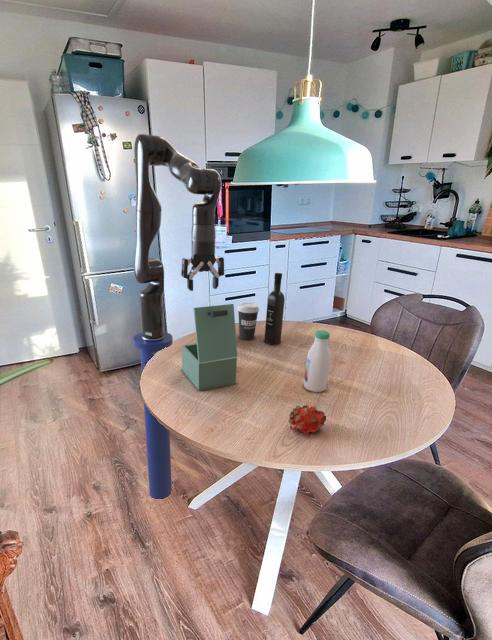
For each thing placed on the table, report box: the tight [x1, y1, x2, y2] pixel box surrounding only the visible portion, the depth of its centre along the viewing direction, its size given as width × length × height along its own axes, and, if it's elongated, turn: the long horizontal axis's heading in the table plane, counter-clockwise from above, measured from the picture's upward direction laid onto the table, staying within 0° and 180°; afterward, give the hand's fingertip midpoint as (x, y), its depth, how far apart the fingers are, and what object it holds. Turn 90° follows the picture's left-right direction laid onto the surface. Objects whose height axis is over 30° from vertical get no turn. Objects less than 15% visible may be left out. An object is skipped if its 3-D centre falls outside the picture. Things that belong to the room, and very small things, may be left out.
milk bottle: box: [303, 329, 332, 393], centre depth 128 cm, size 8×8×20 cm
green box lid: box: [193, 303, 238, 363], centre depth 122 cm, size 17×14×5 cm
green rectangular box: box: [181, 342, 238, 392], centre depth 135 cm, size 17×14×10 cm
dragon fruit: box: [288, 404, 327, 437], centre depth 107 cm, size 8×8×12 cm
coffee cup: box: [237, 302, 260, 341], centre depth 170 cm, size 10×10×15 cm
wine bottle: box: [263, 272, 286, 346], centre depth 163 cm, size 6×6×30 cm
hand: (202, 289), depth 129 cm, fingers open, 8 cm apart
